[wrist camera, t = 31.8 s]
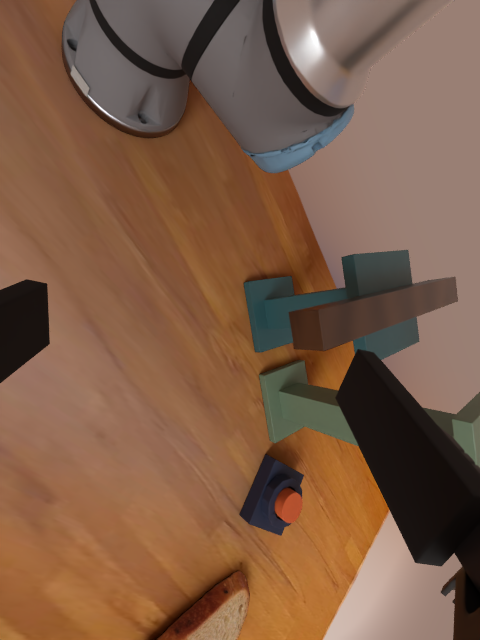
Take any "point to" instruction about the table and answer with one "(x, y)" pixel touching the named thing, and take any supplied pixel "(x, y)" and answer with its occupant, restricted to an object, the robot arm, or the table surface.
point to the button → (288, 505)
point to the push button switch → (269, 494)
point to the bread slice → (214, 613)
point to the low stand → (360, 279)
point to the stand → (326, 416)
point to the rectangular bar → (367, 313)
